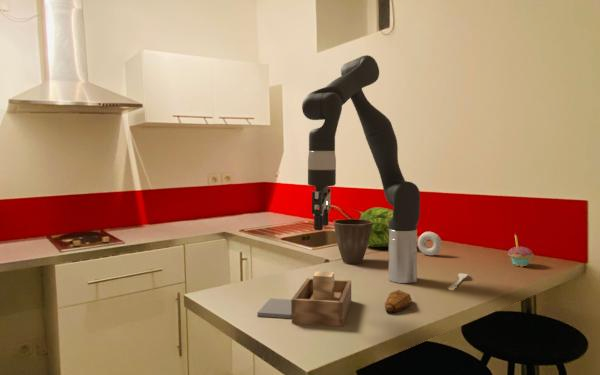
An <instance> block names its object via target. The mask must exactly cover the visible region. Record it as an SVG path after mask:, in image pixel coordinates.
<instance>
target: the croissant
mask: <svg viewBox="0 0 600 375" xmlns="http://www.w3.org/2000/svg"><path fill="white" fill-rule="evenodd" d="M412 300H413V299H412V297H411V294H410V293H407V292H406V291H403V290H400V289H397V290H394V291H391V292H390V293H389V294H388V296H387V298H386V300H385V303H384V308H385V311H386V313H396V312H399V311H401V310H403V309H405V308H406V309H407V307H408V306H409V305H410V304H411V302H412Z"/></svg>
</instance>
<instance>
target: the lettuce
mask: <svg viewBox="0 0 600 375" xmlns="http://www.w3.org/2000/svg"><path fill="white" fill-rule="evenodd" d="M392 217H393V209H389V208H385V207H381V206H379V207H376V206H375V207H371V208H369V209H367V210H365V211H364V212H363V213H362V214H361V216H360V218H359V219H362V220H369V221H371V222H372V227H371V233H370V238H369V242H368V246H370V247H373V248H389V220H391V219H392Z"/></svg>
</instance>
